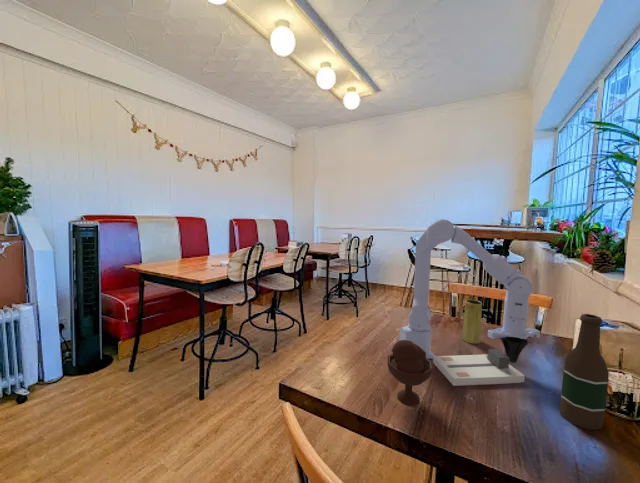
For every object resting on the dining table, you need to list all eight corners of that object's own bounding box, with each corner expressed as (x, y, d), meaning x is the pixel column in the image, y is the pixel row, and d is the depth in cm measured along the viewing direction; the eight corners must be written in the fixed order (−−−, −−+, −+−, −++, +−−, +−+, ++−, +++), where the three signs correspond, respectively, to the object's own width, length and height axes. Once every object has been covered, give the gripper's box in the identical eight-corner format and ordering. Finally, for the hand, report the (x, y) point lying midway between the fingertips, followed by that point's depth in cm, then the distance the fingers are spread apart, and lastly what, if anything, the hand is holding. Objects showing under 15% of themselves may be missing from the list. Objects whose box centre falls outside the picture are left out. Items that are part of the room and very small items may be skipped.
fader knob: (498, 368, 83) (499, 358, 83) (487, 359, 88) (487, 349, 88) (508, 367, 83) (509, 357, 83) (496, 358, 88) (497, 349, 88)
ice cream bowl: (426, 419, 66) (429, 355, 64) (379, 401, 72) (380, 343, 70) (436, 394, 75) (438, 337, 73) (393, 380, 81) (394, 328, 79)
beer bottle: (594, 436, 61) (607, 325, 59) (551, 413, 68) (561, 313, 65) (610, 424, 65) (623, 319, 62) (567, 403, 72) (578, 307, 69)
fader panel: (453, 385, 79) (454, 378, 78) (432, 362, 90) (433, 356, 90) (524, 382, 80) (524, 375, 80) (494, 360, 92) (495, 353, 92)
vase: (479, 345, 102) (482, 305, 100) (460, 340, 105) (462, 302, 104) (482, 339, 107) (484, 301, 105) (463, 335, 110) (466, 298, 109)
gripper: (500, 321, 80) (497, 369, 81) (550, 320, 81) (546, 367, 83) (484, 312, 87) (481, 356, 88) (530, 311, 88) (526, 354, 90)
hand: (511, 360), depth 86 cm, fingers closed
